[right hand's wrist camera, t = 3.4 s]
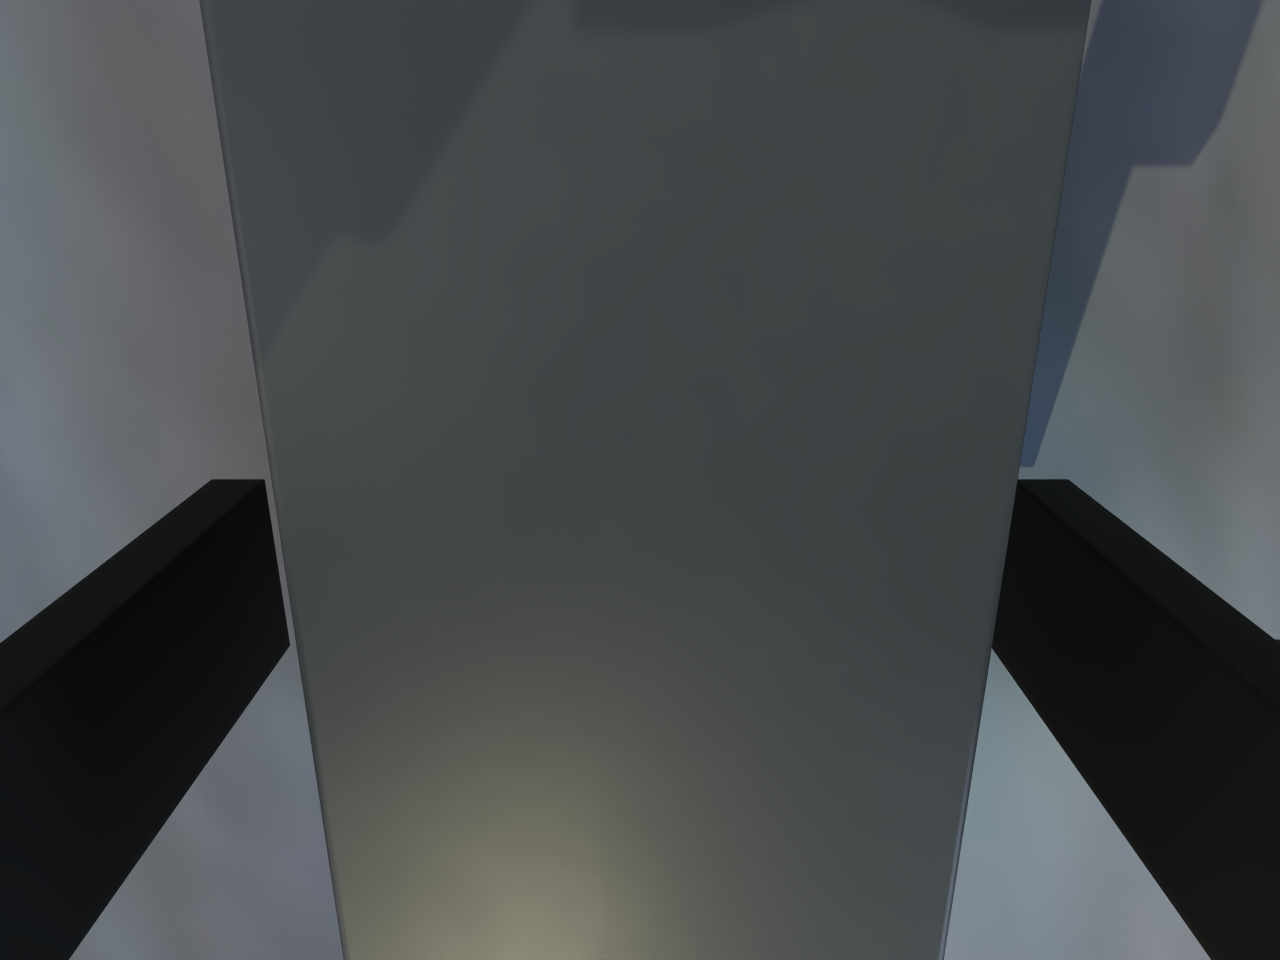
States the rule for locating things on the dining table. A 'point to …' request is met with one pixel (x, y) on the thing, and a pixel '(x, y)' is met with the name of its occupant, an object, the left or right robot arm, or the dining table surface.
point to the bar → (644, 448)
